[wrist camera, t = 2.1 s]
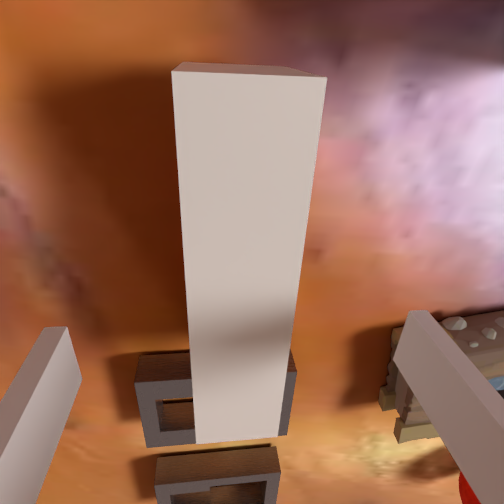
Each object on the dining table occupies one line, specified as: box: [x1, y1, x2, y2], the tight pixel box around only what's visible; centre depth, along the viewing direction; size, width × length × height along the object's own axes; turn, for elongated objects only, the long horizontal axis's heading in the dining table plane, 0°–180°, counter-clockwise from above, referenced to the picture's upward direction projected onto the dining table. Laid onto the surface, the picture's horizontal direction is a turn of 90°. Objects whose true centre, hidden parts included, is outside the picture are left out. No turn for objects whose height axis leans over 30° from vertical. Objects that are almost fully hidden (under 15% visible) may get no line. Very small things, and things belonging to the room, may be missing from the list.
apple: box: [459, 471, 481, 504], centre depth 38 cm, size 8×8×7 cm
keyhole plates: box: [134, 349, 297, 504], centre depth 32 cm, size 22×12×2 cm, turn 177°
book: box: [378, 310, 504, 444], centre depth 29 cm, size 15×11×5 cm
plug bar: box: [171, 62, 327, 444], centre depth 18 cm, size 18×4×8 cm, turn 177°
